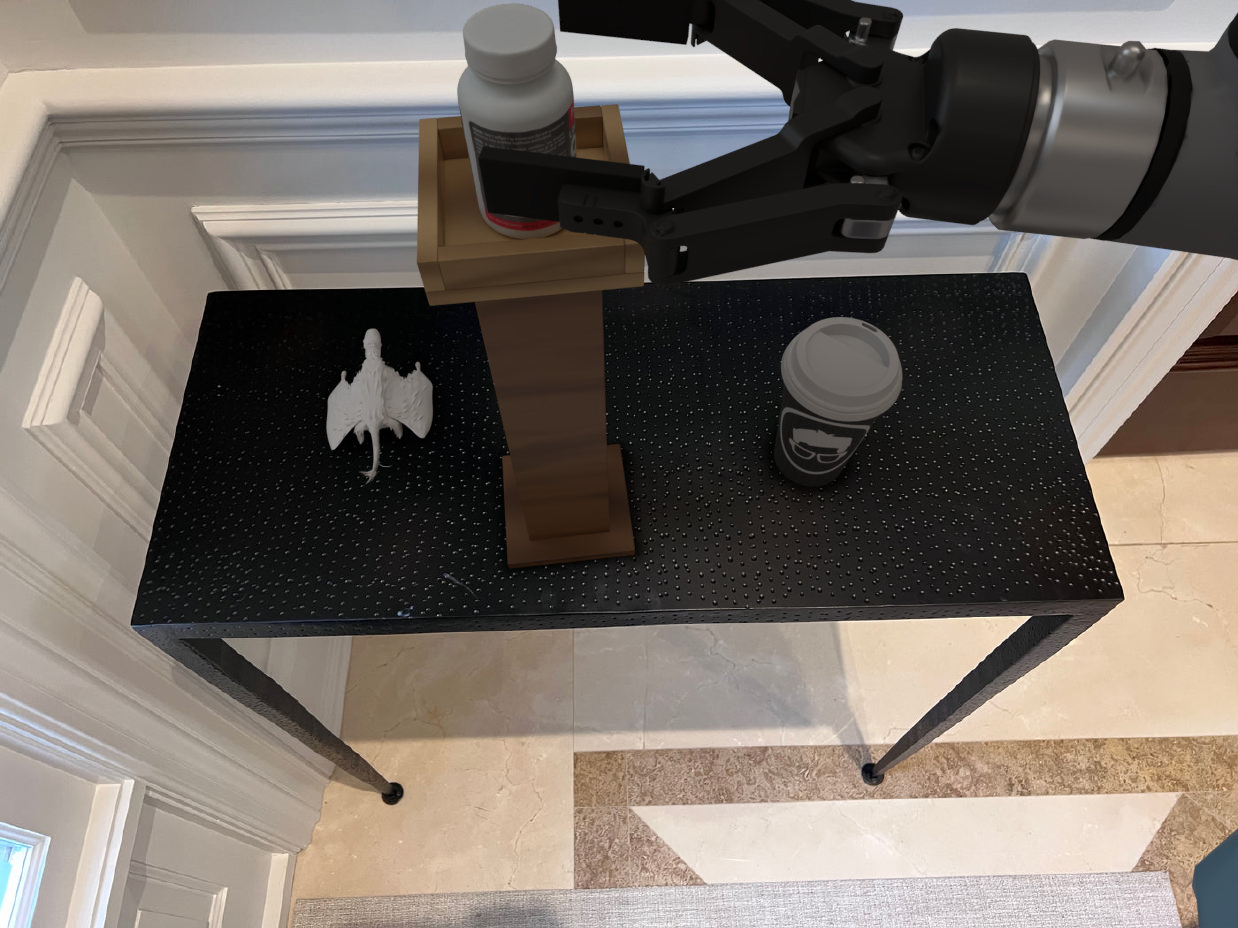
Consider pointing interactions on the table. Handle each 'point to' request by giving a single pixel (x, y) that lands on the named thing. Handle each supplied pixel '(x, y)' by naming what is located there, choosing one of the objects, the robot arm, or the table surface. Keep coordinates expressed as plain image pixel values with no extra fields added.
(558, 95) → the pill bottle
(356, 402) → the winged dragon toy
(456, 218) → the wooden tray stand
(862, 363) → the coffee cup
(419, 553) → the table surface
